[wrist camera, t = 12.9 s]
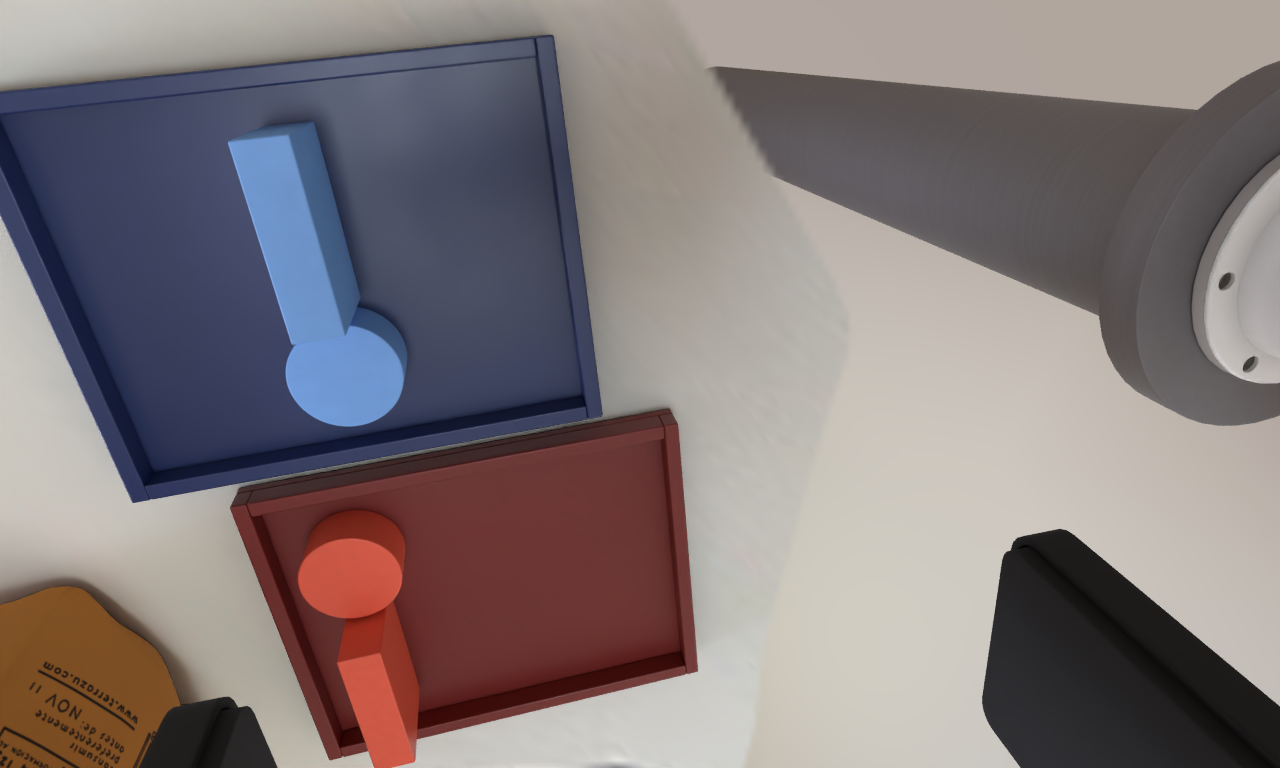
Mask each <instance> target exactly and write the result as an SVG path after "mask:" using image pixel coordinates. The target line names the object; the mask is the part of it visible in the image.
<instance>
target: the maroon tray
mask: <svg viewBox="0 0 1280 768" xmlns="http://www.w3.org/2000/svg"><path fill="white" fill-rule="evenodd" d="M230 510H231V512H232V515H233V517H234V520H235V522H236V525H237V527H238V530H239V532H240V535H241V537H242V540H243V543H244V545H245V548H246V550H247V553H248V555H249V558H250V560H251V563H252V565H253V568H254V570H255V573H256V575H257V578H258V581H259V583H260V586H261V588H262V591H263V593H264V596H265V598H266V601H267V603H268V606H269V608H270V611H271V613H272V616H273V619H274V621H275V624H276V626H277V629H278V631H279V634H280V636H281V639H282V641H283V644H284V646H285V649H286V651H287V654H288V657H289V659H290V662H291V664H292V667H293V669H294V672H295V674H296V677H297V679H298V682H299V684H300V687H301V689H302V692H303V695H304V697H305V700H306V702H307V705H308V707H309V710H310V712H311V715H312V717H313V720H314V722H315V725H316V727H317V730H318V733H319V735H320V738H321V740H322V743H323V745H324V748H325V750H326V753H327V755H328V758H329V760H333V759H337V758H341V757H342V756H343V757H346V756H350V755H354V754H358V753H362V752H366V751H368V749H367V746H366V743H365V740H364V737H363V735H362V732H361V729H360V726H359V724H358V721H357V718H356V715H355V712H354V710H353V707H352V704H351V701H350V698H349V696H348V693H347V690H346V687H345V685H344V682H343V679H342V676H341V673H340V671H339V668H338V665H337V660H338V655H339V650H340V645H341V640H342V635H343V630H344V625H345V620H346V618H338V617H333V616H329V615H327V614H324V613H322V612H320V611H318V610H316V609H315V608H313V607H312V606H311V605H310V604H309V603H308V602H307V601H306V600H305V599H304V597H303V596H302V594H301V591H300V589H299V585H298V572H299V568H300V565H301V561H302V558H303V555H304V552H305V548H306V545H307V542H308V539H309V537H310V534H311V533H312V531H313V530H314V528H315V527H316V526H317V525H318V524H319V523H320V522H322V521H323V520H324V519H326V518H328V517H329V516H331V515H334V514H336V513H339V512H343V511H349V510H365V511H370V512H374V513H377V514H380V515H382V516H384V517H386V518H387V519H389V520H390V521H392V522H393V523H394V524H395V525H396V526H397V527H398V529H399V530H400V532H401V533H402V535H403V538H404V540H405V549H406V550H405V560H404V569H403V578H402V585H401V588H400V590H399V592H398V594H397V596H396V597H395V598H394V600H393V601H394V604H395V607H396V610H397V614H398V617H399V620H400V624H401V627H402V630H403V634H404V637H405V640H406V644H407V647H408V650H409V654H410V657H411V660H412V664H413V667H414V670H415V674H416V677H417V680H418V684H419V687H420V693H419V709H418V724H417V739H420V738H424V737H428V736H433V735H437V734H441V733H445V732H449V731H453V730H457V729H462V728H466V727H470V726H474V725H478V724H482V723H487V722H491V721H495V720H499V719H503V718H507V717H511V716H516V715H520V714H524V713H528V712H532V711H536V710H540V709H545V708H549V707H553V706H557V705H561V704H565V703H569V702H574V701H578V700H582V699H586V698H590V697H594V696H598V695H603V694H607V693H611V692H615V691H619V690H623V689H627V688H632V687H636V686H640V685H644V684H648V683H652V682H656V681H661V680H665V679H669V678H673V677H677V676H681V675H685V674H686V673H687V674H690V673H694V672H697V671H698V665H697V652H696V640H695V627H694V615H693V603H692V590H691V578H690V566H689V553H688V541H687V528H686V516H685V504H684V491H683V479H682V466H681V454H680V442H679V429H678V423H677V421H676V420H675V418H674V416H673V414H672V412H671V410H670V409H667V410H661V411H656V412H650V413H645V414H639V415H634V416H629V417H623V418H618V419H612V420H607V421H601V422H596V423H591V424H585V425H580V426H574V427H569V428H564V429H558V430H553V431H547V432H542V433H536V434H531V435H526V436H520V437H515V438H509V439H504V440H499V441H493V442H488V443H482V444H477V445H471V446H466V447H461V448H455V449H450V450H444V451H439V452H434V453H428V454H423V455H417V456H412V457H406V458H401V459H396V460H390V461H385V462H379V463H374V464H368V465H363V466H358V467H352V468H347V469H341V470H336V471H331V472H325V473H320V474H314V475H309V476H303V477H298V478H293V479H287V480H282V481H276V482H271V483H266V484H260V485H255V486H249V487H244V488H240V489H239V490H238V492H237V495H236V497H235V499H234V501H233V503H232V505H231V507H230Z"/></svg>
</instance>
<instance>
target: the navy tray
mask: <svg viewBox="0 0 1280 768" xmlns="http://www.w3.org/2000/svg"><path fill="white" fill-rule="evenodd" d="M306 121H314V123H315V127H316V131H317V135H318V138H319V142H320V146H321V150H322V153H323V157H324V161H325V165H326V168H327V172H328V176H329V180H330V184H331V187H332V191H333V195H334V199H335V202H336V206H337V210H338V214H339V217H340V221H341V225H342V229H343V232H344V236H345V240H346V244H347V247H348V251H349V255H350V259H351V262H352V266H353V270H354V274H355V277H356V281H357V285H358V289H359V293H360V296H361V298H360V300H359V303H358V305H357V307H360V308H364V309H368V310H371V311H373V312H376V313H378V314H379V315H381V316H383V317H384V318H386V319H387V320H388V321H390V322H391V323H392V324H393V325H394V326H395V327H396V329H397V330H398V331H399V333H400V334H401V336H402V338H403V340H404V342H405V346H406V350H407V367H406V373H405V379H404V385H403V389H402V393H401V395H400V397H399V399H398V401H397V403H396V404H395V405H394V407H393V408H392V409H391V410H390V411H389V412H388V413H387V414H385V415H384V416H382V417H381V418H379V419H377V420H375V421H373V422H370V423H368V424H364V425H359V426H337V425H332V424H328V423H325V422H323V421H320V420H318V419H316V418H314V417H313V416H311V415H310V414H308V413H307V412H306V411H304V410H303V409H302V408H301V407H300V406H299V405H298V403H297V402H296V401H295V400H294V398H293V396H292V395H291V393H290V390H289V388H288V385H287V381H286V364H287V360H288V357H289V355H290V352H291V351H292V349H293V347H294V345H292V343H291V340H290V337H289V334H288V331H287V328H286V325H285V321H284V318H283V315H282V312H281V309H280V306H279V303H278V299H277V296H276V293H275V290H274V287H273V284H272V280H271V277H270V274H269V271H268V268H267V265H266V261H265V258H264V255H263V252H262V249H261V246H260V242H259V239H258V236H257V233H256V230H255V227H254V224H253V220H252V217H251V214H250V211H249V208H248V205H247V201H246V198H245V195H244V192H243V189H242V186H241V182H240V179H239V176H238V173H237V170H236V167H235V164H234V160H233V157H232V154H231V151H230V148H229V145H228V141H230V140H232V139H235V138H237V137H239V136H242V135H244V134H247V133H249V132H251V131H254V130H256V129H258V128H261V127H263V126H272V125H280V124H289V123H298V122H306ZM0 216H1V218H2V221H3V223H4V225H5V227H6V229H7V231H8V234H9V236H10V238H11V240H12V242H13V244H14V247H15V249H16V251H17V253H18V255H19V257H20V260H21V262H22V264H23V266H24V268H25V271H26V273H27V275H28V277H29V279H30V281H31V284H32V286H33V288H34V290H35V292H36V294H37V297H38V299H39V301H40V303H41V305H42V307H43V310H44V312H45V314H46V316H47V318H48V320H49V323H50V325H51V327H52V329H53V331H54V334H55V336H56V338H57V340H58V342H59V344H60V347H61V349H62V351H63V353H64V355H65V357H66V360H67V362H68V364H69V366H70V368H71V370H72V373H73V375H74V377H75V379H76V381H77V383H78V386H79V388H80V390H81V392H82V394H83V397H84V399H85V401H86V403H87V405H88V407H89V410H90V412H91V414H92V416H93V418H94V420H95V423H96V425H97V427H98V429H99V431H100V433H101V436H102V438H103V440H104V442H105V444H106V446H107V449H108V451H109V453H110V455H111V457H112V460H113V462H114V464H115V466H116V468H117V470H118V473H119V475H120V477H121V479H122V481H123V483H124V486H125V488H126V490H127V492H128V494H129V496H130V499H131V501H132V503H135V502H141V501H146V500H150V499H157V498H162V497H168V496H173V495H178V494H184V493H189V492H195V491H200V490H206V489H211V488H217V487H222V486H228V485H233V484H238V483H244V482H249V481H255V480H260V479H266V478H271V477H277V476H282V475H287V474H293V473H298V472H304V471H309V470H315V469H320V468H326V467H331V466H336V465H342V464H347V463H353V462H358V461H364V460H369V459H375V458H380V457H385V456H391V455H396V454H402V453H407V452H413V451H418V450H424V449H429V448H435V447H440V446H445V445H451V444H456V443H462V442H467V441H473V440H478V439H484V438H489V437H494V436H500V435H505V434H511V433H516V432H522V431H527V430H533V429H538V428H543V427H549V426H554V425H560V424H565V423H571V422H576V421H582V420H587V419H592V418H597V417H602V415H603V414H602V406H601V398H600V391H599V383H598V375H597V367H596V360H595V352H594V344H593V336H592V329H591V321H590V313H589V305H588V298H587V290H586V282H585V274H584V267H583V259H582V251H581V243H580V236H579V228H578V220H577V213H576V205H575V197H574V189H573V182H572V174H571V166H570V158H569V151H568V143H567V135H566V127H565V120H564V112H563V104H562V96H561V89H560V81H559V73H558V65H557V58H556V50H555V42H554V36H553V35H543V36H533V37H523V38H514V39H504V40H494V41H485V42H475V43H465V44H455V45H446V46H436V47H426V48H417V49H407V50H397V51H388V52H378V53H368V54H358V55H349V56H339V57H329V58H320V59H310V60H300V61H291V62H281V63H271V64H262V65H252V66H242V67H232V68H223V69H213V70H203V71H194V72H184V73H174V74H165V75H155V76H145V77H135V78H126V79H116V80H106V81H97V82H87V83H77V84H68V85H58V86H48V87H39V88H29V89H19V90H9V91H0Z"/></svg>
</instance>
